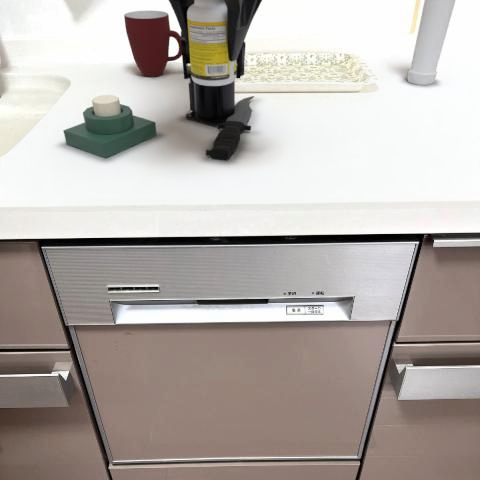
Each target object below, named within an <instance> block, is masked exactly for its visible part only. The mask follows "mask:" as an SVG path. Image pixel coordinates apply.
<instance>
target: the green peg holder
mask: <svg viewBox="0 0 480 480" xmlns="http://www.w3.org/2000/svg"><path fill="white" fill-rule="evenodd" d="M120 109H121V114H118V115H115V116H108V117H101V116H96V115H95V114H94V109H93V105H91V106H89V107H86V109H85V110H83V112H82V116H83V121H84V122H82V123H79V124H77V125H74V126H72V127H68V128H66V129H63V135H64V140H65V143H66V145H67V146H70V147H73V148H76V149H78V150H81V151H84V152H86V153H89V154H92V155H95V156H98V157H101V158H104V159H107V158H111V157H112V156H114V155H117V154H119V153H121V152H123V151H125V150H127V149H128V150H129V149H130V148H132V147H134V146H137V145H139V144H141V143H144V142H147V141H148V140H151V139H153V138H154V137H157V136H158V135H157V126H156V125H157V124H156V121H153V120H151V119H147V118H144V117H140V116H136V115H134V113H133V109H132V108H131V107H130V106H128V105H125V104H121V103H120Z"/></svg>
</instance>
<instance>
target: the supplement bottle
mask: <svg viewBox="0 0 480 480" xmlns="http://www.w3.org/2000/svg"><path fill="white" fill-rule="evenodd" d="M187 22H188V36H189V50H190V64H189V65H190V66H191V76H192V80H193V81H194V82H195V83H197V84H200V85H205V86H222V85H227V84H230V83H232V82H233V81H236V79H237V78H236V60H235V61H233V62H232V61H229V56H228V31H227V6H226V4H225V2H224V0H195V2H194V4H193V5H191V6H190V7H189V8H188V11H187Z"/></svg>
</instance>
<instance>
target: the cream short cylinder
mask: <svg viewBox="0 0 480 480" xmlns="http://www.w3.org/2000/svg"><path fill="white" fill-rule="evenodd" d="M91 102H92V103H91V104H92V106H93V109H94V114H95V115H96V116H101V117H108V116H115V115H118V114H121V109H120V104H121V102H120V98H119V96H117V95H113V94H101V95H97V96H94V97H92V99H91Z"/></svg>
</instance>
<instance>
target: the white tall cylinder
mask: <svg viewBox="0 0 480 480" xmlns="http://www.w3.org/2000/svg"><path fill="white" fill-rule="evenodd" d="M455 4H456V0H424V2H423V7H422V12H421V16H420V21H419V27H418V31H417V35H416V41H415V45H414V50H413V55H412V60H411V63H410V68H409V69H408V71H407V78H406V79H407V82H408V83H410V84H412V85H418V86H429V85H432V84H433V83H434V82H435V80H436V77H437V74H438V72H437V67H438V64H439V62H440V58H441V53H442V50H443V47H444V43H445V39H446V36H447V33H448V28H449V25H450V22H451V18H452V14H453V11H454V7H455Z"/></svg>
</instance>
